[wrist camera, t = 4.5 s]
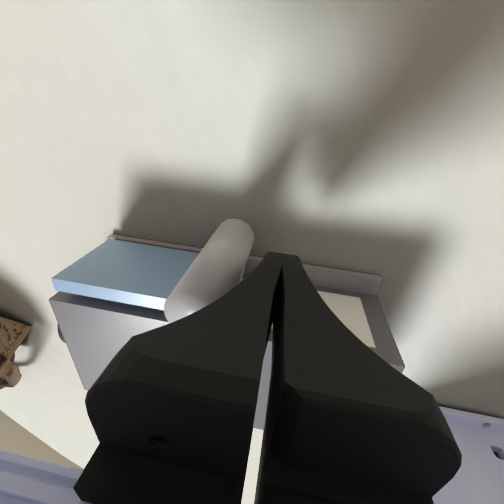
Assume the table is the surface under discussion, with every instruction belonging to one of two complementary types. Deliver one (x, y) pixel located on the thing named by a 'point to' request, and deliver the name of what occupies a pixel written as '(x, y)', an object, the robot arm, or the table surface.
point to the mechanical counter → (10, 350)
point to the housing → (145, 319)
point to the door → (162, 272)
